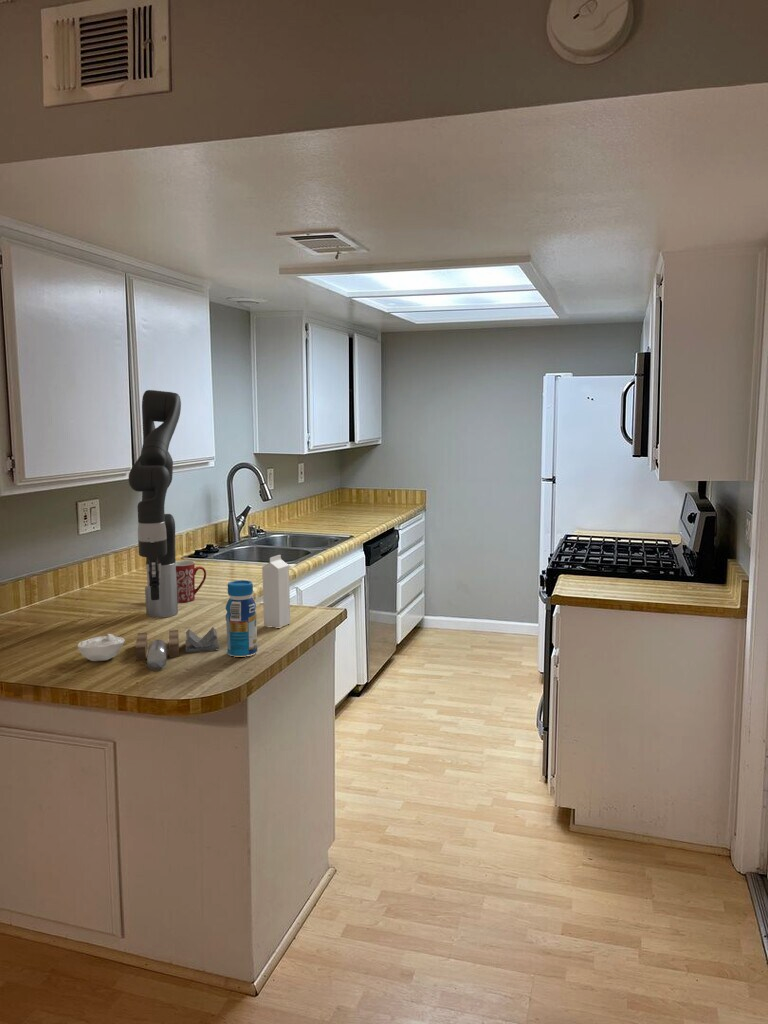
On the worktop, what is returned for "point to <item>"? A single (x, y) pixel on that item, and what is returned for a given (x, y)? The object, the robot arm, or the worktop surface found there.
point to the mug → (187, 580)
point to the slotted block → (142, 645)
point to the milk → (276, 592)
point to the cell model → (101, 647)
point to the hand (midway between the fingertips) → (155, 599)
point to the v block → (201, 641)
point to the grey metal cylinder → (157, 655)
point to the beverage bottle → (241, 619)
